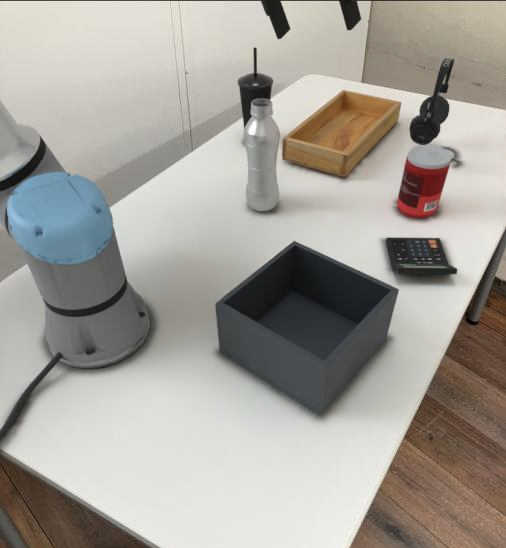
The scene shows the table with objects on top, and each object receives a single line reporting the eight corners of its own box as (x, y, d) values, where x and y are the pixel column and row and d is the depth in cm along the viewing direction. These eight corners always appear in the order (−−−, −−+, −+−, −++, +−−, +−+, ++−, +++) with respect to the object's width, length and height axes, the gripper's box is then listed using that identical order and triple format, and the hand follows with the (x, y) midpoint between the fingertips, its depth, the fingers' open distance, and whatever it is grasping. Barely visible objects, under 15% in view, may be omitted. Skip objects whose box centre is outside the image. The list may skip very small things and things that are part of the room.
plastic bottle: (259, 219, 97) (258, 114, 83) (239, 204, 101) (234, 101, 87) (285, 208, 100) (289, 104, 85) (265, 193, 104) (265, 91, 89)
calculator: (438, 241, 92) (442, 228, 90) (452, 284, 84) (458, 270, 82) (385, 241, 92) (388, 227, 90) (395, 284, 84) (398, 269, 82)
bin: (319, 415, 67) (325, 367, 60) (219, 352, 75) (214, 303, 67) (386, 338, 76) (399, 289, 69) (291, 289, 84) (294, 240, 77)
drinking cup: (269, 151, 116) (270, 55, 101) (236, 148, 117) (232, 53, 102) (275, 135, 121) (276, 42, 106) (243, 133, 122) (240, 40, 107)
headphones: (451, 182, 105) (481, 80, 91) (397, 171, 109) (418, 71, 94) (464, 150, 115) (494, 53, 100) (414, 140, 118) (436, 45, 103)
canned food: (440, 201, 101) (455, 148, 92) (432, 223, 96) (447, 169, 88) (401, 193, 103) (413, 140, 95) (391, 214, 98) (403, 160, 90)
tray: (340, 110, 130) (343, 87, 125) (397, 124, 124) (402, 100, 120) (281, 163, 112) (282, 138, 108) (344, 181, 106) (347, 155, 102)
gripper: (363, -199, 56) (402, 4, 71) (214, -129, 72) (271, 24, 87) (326, -167, 54) (374, 36, 68) (181, -102, 70) (245, 50, 85)
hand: (317, 30), depth 78 cm, fingers open, 13 cm apart
